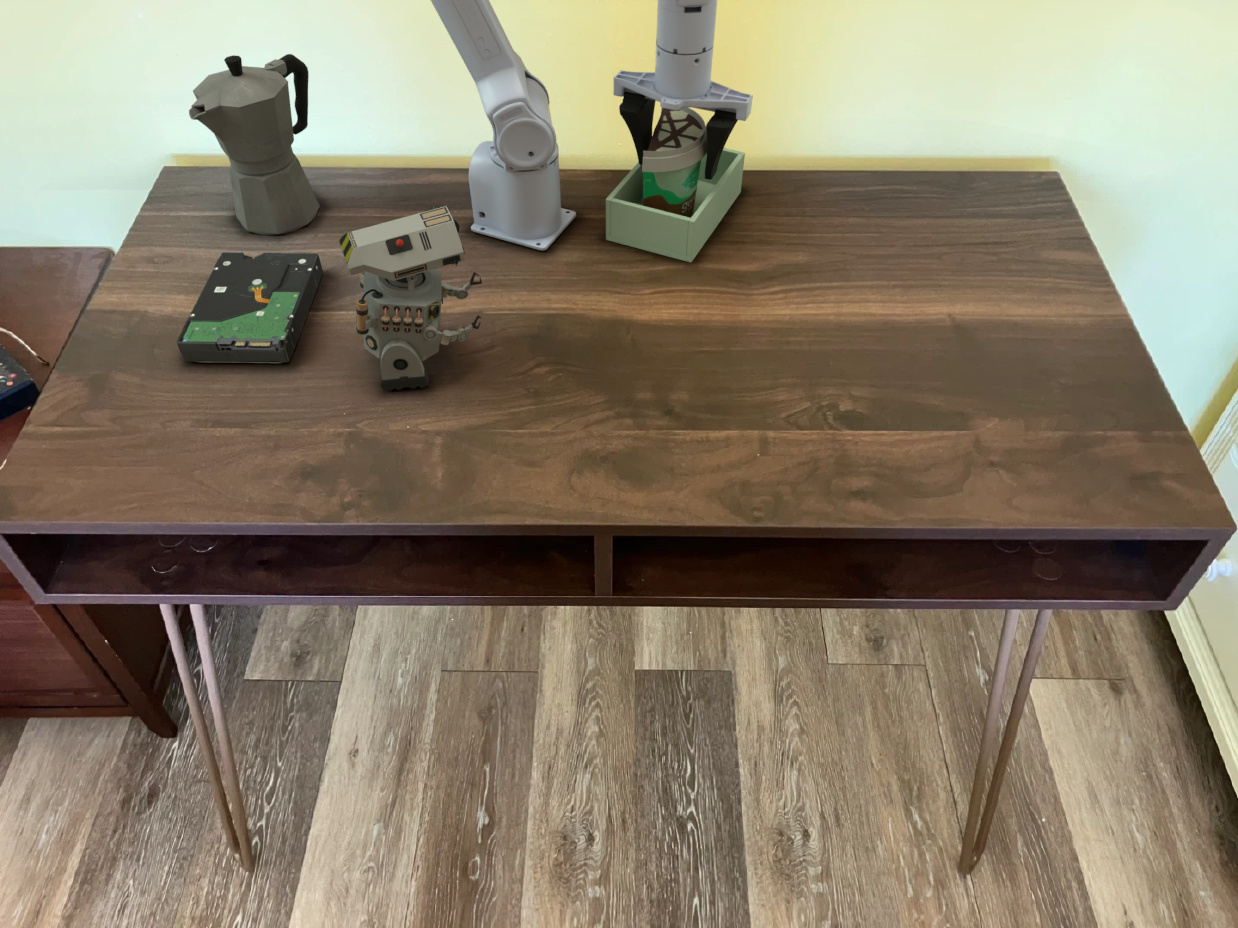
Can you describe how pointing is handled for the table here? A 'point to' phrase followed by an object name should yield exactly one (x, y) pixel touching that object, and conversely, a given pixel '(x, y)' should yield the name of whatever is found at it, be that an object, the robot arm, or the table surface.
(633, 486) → the table surface
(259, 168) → the coffeepot
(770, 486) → the table surface
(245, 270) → the disk drive
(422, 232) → the figurine
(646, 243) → the storage bin
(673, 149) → the food container
